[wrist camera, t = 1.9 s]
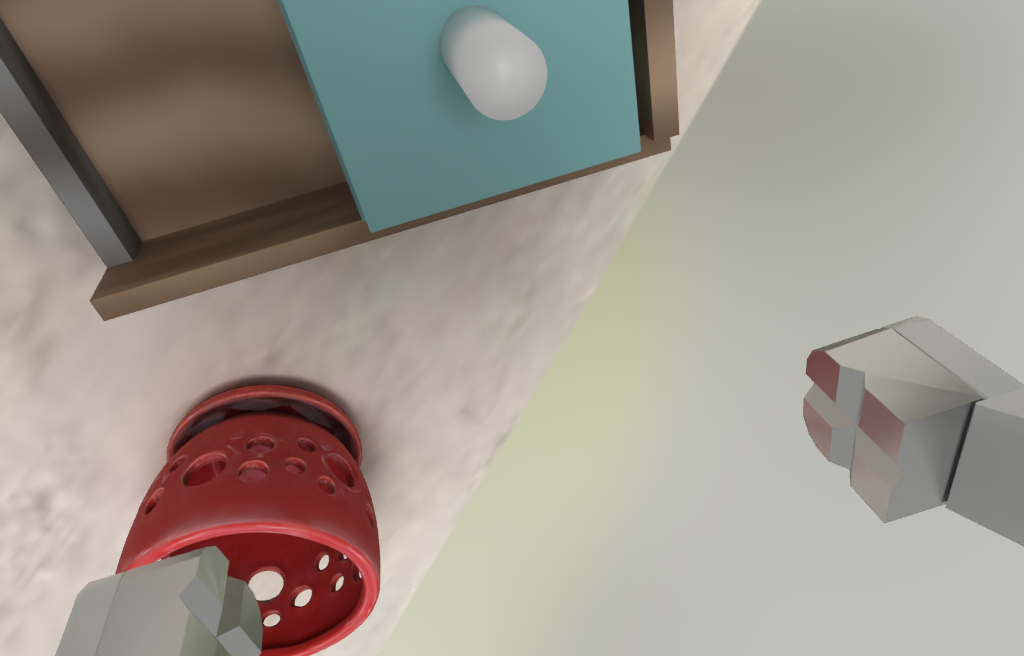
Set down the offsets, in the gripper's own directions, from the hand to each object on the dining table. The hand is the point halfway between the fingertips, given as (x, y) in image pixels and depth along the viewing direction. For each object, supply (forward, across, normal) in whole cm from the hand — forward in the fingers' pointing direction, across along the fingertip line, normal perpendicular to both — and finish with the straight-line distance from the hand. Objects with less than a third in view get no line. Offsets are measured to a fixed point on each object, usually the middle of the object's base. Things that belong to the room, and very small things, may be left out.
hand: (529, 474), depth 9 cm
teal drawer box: (+26, -3, -2) cm, 27 cm away
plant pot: (+29, +15, +21) cm, 38 cm away
